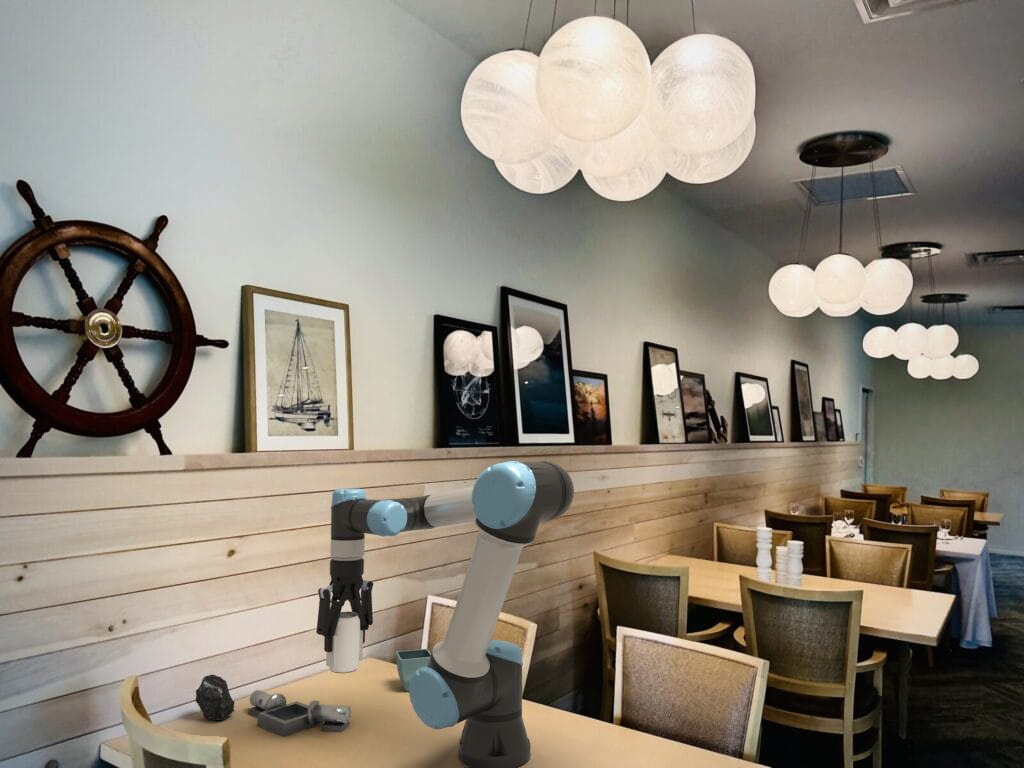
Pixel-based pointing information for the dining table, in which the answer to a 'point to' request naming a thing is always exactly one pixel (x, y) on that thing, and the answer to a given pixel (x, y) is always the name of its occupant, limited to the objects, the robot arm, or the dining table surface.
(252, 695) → the shaft
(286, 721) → the socket
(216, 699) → the rock
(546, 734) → the dining table surface
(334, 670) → the can
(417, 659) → the flower pot
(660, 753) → the dining table surface
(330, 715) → the shaft
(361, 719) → the dining table surface
